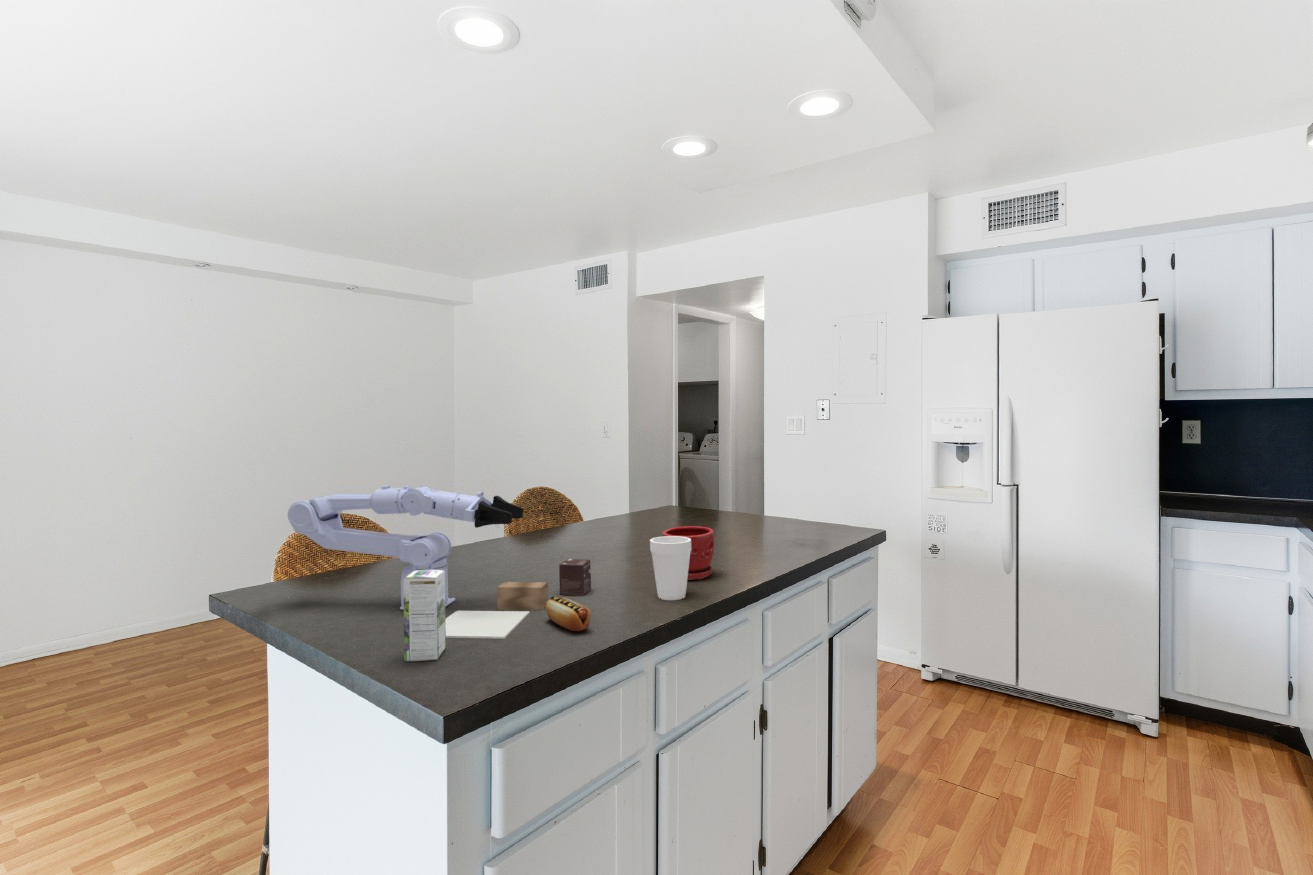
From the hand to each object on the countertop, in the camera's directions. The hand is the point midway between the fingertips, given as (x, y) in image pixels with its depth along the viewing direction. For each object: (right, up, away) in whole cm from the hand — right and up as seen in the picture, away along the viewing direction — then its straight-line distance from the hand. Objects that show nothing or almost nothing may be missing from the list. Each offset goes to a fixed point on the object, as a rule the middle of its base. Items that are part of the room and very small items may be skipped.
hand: (517, 515), depth 143 cm
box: (+11, -20, +11) cm, 25 cm away
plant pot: (+39, -19, +25) cm, 50 cm away
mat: (-5, -20, -12) cm, 24 cm away
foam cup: (+34, -19, +6) cm, 40 cm away
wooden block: (+1, -20, 0) cm, 20 cm away
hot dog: (+13, -20, -14) cm, 28 cm away
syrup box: (-10, -21, -29) cm, 37 cm away
